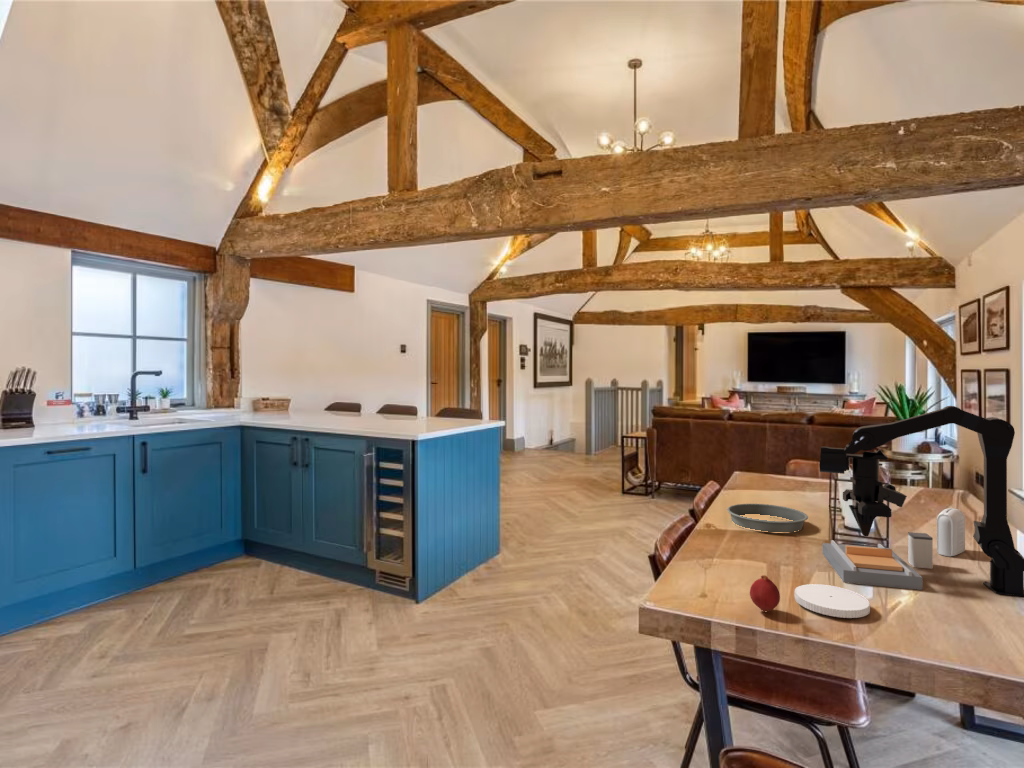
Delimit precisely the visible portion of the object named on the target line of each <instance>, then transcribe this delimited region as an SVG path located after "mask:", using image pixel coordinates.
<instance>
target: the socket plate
mask: <svg viewBox="0 0 1024 768" xmlns="http://www.w3.org/2000/svg"><path fill="white" fill-rule="evenodd" d="M835 541H836V540H833V539H831V540H830V543H826V542H822V555H823V556H824V558H825V557H826V558H825V559H826V560H827V561H828V563H829V564H830V566H831V567H832V569H833V568H834V569H833V570H834V572H837V573H836V574H837V576H838V575H839V576H840V577H839V576H838V577H839V578H840V580H841V579H842V580H841V581H842V582H843V583H844V582H849V583H848V584H854V583H860V584H859V585H864V584H867V585H868V586H876V587H886V588H887V587H888V588H895V589H896V588H897V589H898V588H899V589H907V590H916V589H917V591H923V577H922V576H921V574H919V573H918V571H916V570H915V569H914V568H913V567H911V566H910V565H909V564H908V563H907V562H906V561H904V559H902V558H901V557H900V555H898V554H897V553H896V552H895V551H894V550H892V558H893V559H894V560H895V561H896V562H898V563H899V564H900V565H901V566H902V567H903V571H894V570H882V569H871V568H860V567H856V566H855V565H854V564H853V563H852V561H851V560H850V559H849V558H848V557H847V556H846V545H847V546H856V545H853V544H852V545H851V544H842V543H840V544H837V543H836V542H835ZM859 546H860V547H869V546H866V545H865V546H864V545H859ZM872 547H873V548H886V549H891V548H890V547H885V546H883V545H882V544H881V543H877V546H872ZM867 585H866V586H867Z"/></svg>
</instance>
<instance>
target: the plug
mask: <svg viewBox="0 0 1024 768" xmlns="http://www.w3.org/2000/svg"><path fill="white" fill-rule="evenodd" d="M907 540H908V541H907V551H908V553H907V554H908V555H907V556H908V557H907V558H908V560H907V561H908V563H909V564H910V565H911V566H912V568H913V567H914V568H918V569H919V568H920V569H932V570H933V564H934V563H933V562H934V561H933V558H934V557H933V537H932V536H931V535H929V534H927V533H925V532H908V533H907Z"/></svg>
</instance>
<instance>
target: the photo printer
mask: <svg viewBox="0 0 1024 768" xmlns="http://www.w3.org/2000/svg"><path fill="white" fill-rule="evenodd" d="M965 550H966V516H965V514H964V512H963V511H962V510H960V509H959V508H953V507H949V508H945V509H943V510H942V511H941V512H940V513H939V514H938V515H937V519H936V552H937V554H939V555H940V556H945V557H949V558H950V557H955V556H957V555H959V554H961V553H964V552H965Z"/></svg>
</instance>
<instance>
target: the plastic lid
mask: <svg viewBox="0 0 1024 768" xmlns="http://www.w3.org/2000/svg"><path fill="white" fill-rule="evenodd" d="M794 601H795V602H796V603H797V604H798V605H800V606H801V607H803V608H805V609H807V610H810V611H813V612H815V613H818V614H822V615H824V616H825V615H826V616H830V617H836V618H844V619H845V618H846V619H852V618H853V619H857V618H863V617H866V616H867V615H869V614H870V612H871V603H870V600H868V598H866V597H865V596H863V595H862V594H860V593H858V592H856V591H853V590H850V589H847V588H843V587H841V586H840V587H839V586H836V585H829V584H822V583H821V584H820V583H813V584H812V583H811V584H810V583H808V584H807V583H806V584H802V585H799V586H796V587H795V588H794Z"/></svg>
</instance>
